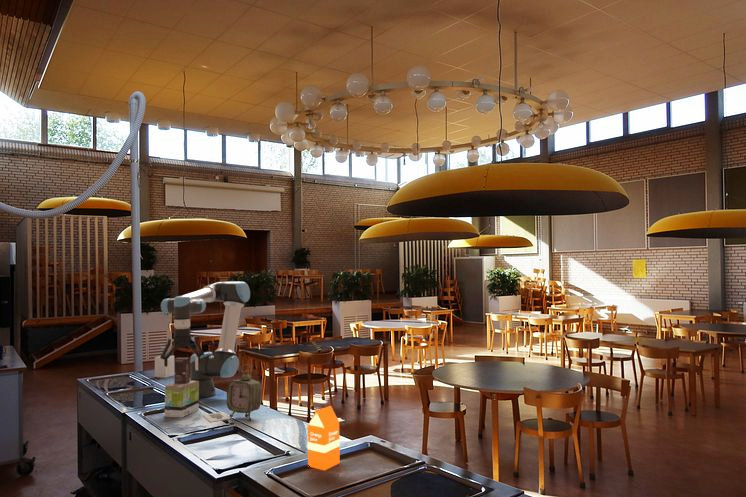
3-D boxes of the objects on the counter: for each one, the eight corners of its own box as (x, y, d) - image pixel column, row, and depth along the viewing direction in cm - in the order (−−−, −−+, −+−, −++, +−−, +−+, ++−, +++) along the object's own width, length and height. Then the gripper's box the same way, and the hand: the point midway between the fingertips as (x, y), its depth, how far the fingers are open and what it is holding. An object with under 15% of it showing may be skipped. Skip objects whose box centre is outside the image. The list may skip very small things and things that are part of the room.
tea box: (183, 418, 259) (183, 386, 260) (164, 417, 261) (164, 385, 262) (199, 409, 274) (199, 380, 274) (181, 409, 276) (181, 379, 277)
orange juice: (307, 466, 196) (307, 409, 196) (323, 458, 203) (322, 404, 203) (324, 470, 191) (324, 412, 192) (340, 462, 199) (339, 407, 199)
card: (223, 412, 268) (223, 411, 268) (231, 418, 257) (231, 417, 257) (202, 415, 263) (202, 414, 263) (210, 422, 252) (210, 421, 252)
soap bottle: (163, 374, 364) (163, 345, 365) (174, 375, 361) (174, 346, 362) (154, 377, 356) (154, 347, 357) (165, 377, 353) (165, 348, 354)
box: (174, 383, 266) (174, 358, 267) (178, 381, 271) (178, 357, 271) (185, 384, 265) (185, 359, 266) (190, 382, 270) (190, 357, 270)
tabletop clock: (225, 417, 257) (228, 363, 258) (238, 413, 265) (240, 361, 266) (250, 422, 250) (252, 367, 252) (262, 418, 258) (265, 364, 260)
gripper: (156, 330, 259) (157, 375, 259) (210, 326, 272) (210, 369, 272) (153, 329, 265) (153, 373, 265) (205, 325, 279) (206, 367, 278)
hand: (182, 371), depth 268 cm, fingers open, 13 cm apart
